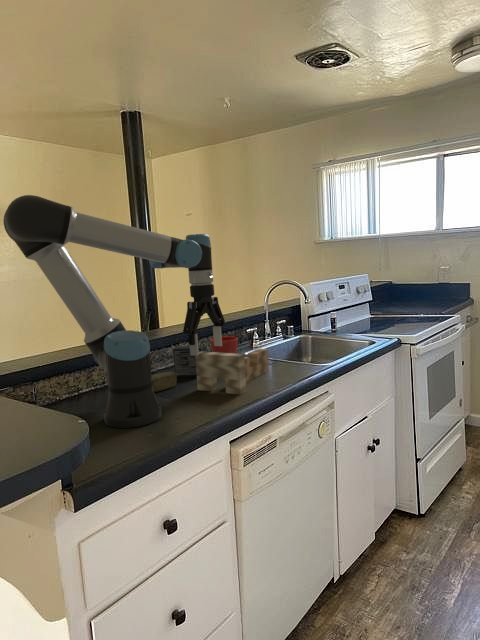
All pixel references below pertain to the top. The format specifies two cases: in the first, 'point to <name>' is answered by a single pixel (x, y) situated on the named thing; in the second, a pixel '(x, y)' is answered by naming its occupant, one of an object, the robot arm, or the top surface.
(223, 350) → the flower pot
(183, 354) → the small box
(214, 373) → the beige wooden slab
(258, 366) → the oak board
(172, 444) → the top surface
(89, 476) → the top surface
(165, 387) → the stone block
